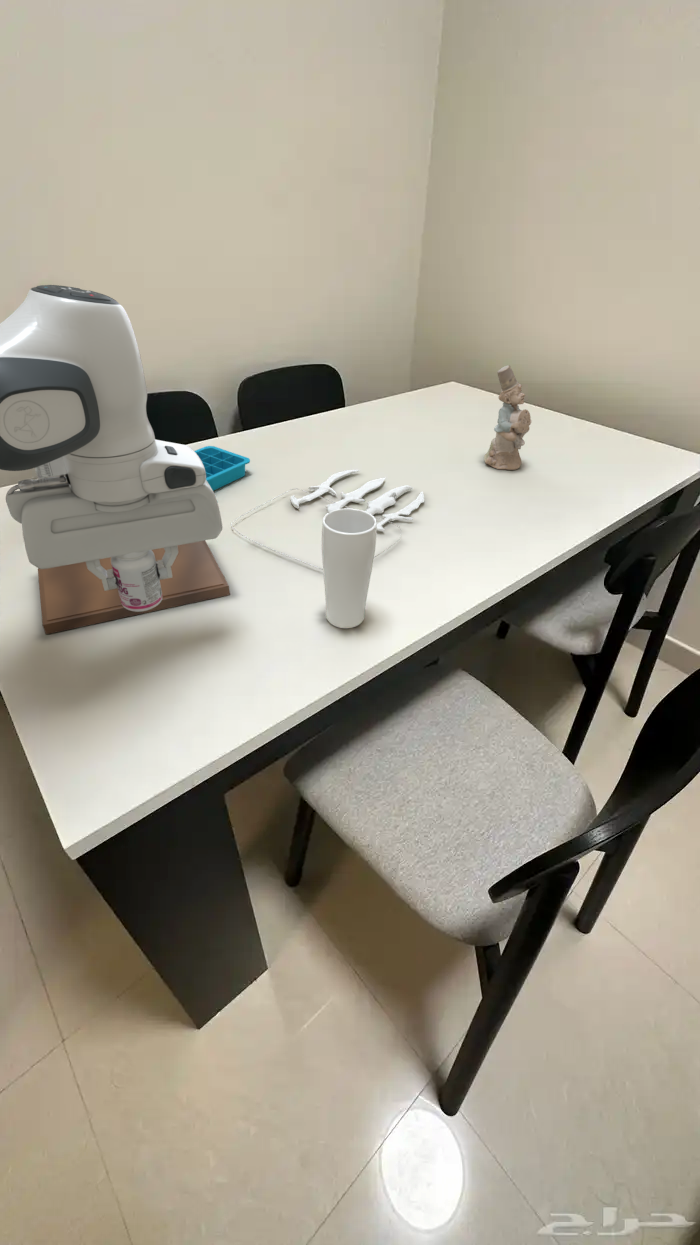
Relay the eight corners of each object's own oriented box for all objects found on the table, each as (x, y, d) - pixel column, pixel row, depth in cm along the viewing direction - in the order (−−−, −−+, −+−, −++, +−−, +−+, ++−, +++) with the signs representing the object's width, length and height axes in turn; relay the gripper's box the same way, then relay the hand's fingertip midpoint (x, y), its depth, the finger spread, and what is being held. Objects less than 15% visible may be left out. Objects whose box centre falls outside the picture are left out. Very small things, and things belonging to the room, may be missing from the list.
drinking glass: (369, 634, 77) (378, 535, 68) (318, 632, 77) (320, 532, 68) (369, 604, 82) (377, 508, 73) (321, 602, 82) (323, 506, 73)
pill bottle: (112, 606, 68) (96, 544, 63) (138, 585, 72) (124, 525, 67) (146, 617, 67) (132, 554, 62) (171, 595, 71) (159, 534, 65)
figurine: (473, 462, 124) (491, 364, 112) (493, 452, 130) (512, 357, 117) (509, 475, 120) (533, 374, 108) (529, 464, 125) (553, 366, 113)
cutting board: (46, 634, 74) (42, 624, 73) (40, 577, 84) (37, 567, 83) (229, 594, 83) (229, 585, 82) (205, 547, 92) (204, 538, 91)
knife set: (452, 502, 109) (453, 496, 108) (344, 584, 86) (345, 578, 85) (341, 465, 120) (341, 460, 119) (219, 529, 97) (218, 523, 96)
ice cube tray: (253, 474, 115) (253, 459, 113) (176, 510, 102) (173, 495, 100) (211, 458, 120) (209, 444, 118) (132, 492, 106) (128, 476, 105)
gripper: (-1, 496, 53) (42, 616, 61) (220, 467, 60) (230, 578, 69) (-1, 470, 57) (39, 585, 66) (205, 445, 65) (217, 552, 73)
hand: (138, 581), depth 67 cm, fingers closed on pill bottle, 5 cm apart
